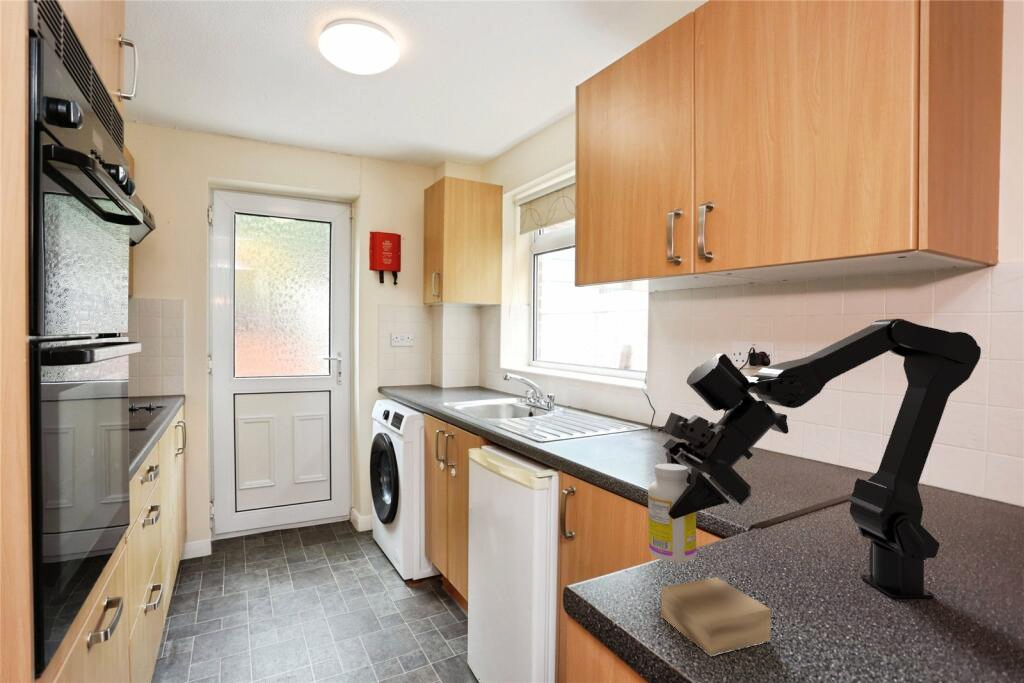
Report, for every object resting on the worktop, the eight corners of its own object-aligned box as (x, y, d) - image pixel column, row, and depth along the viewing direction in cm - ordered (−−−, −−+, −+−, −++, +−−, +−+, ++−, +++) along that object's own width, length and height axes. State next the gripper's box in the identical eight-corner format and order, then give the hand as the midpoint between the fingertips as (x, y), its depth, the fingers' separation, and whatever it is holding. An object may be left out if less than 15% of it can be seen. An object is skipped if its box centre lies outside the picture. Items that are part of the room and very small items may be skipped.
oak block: (770, 642, 61) (770, 609, 61) (710, 657, 58) (710, 622, 58) (716, 606, 69) (716, 577, 70) (661, 617, 66) (661, 586, 66)
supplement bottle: (690, 547, 77) (689, 462, 77) (701, 565, 70) (701, 472, 71) (645, 545, 78) (644, 461, 78) (652, 563, 71) (652, 471, 71)
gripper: (675, 389, 84) (609, 456, 83) (727, 401, 65) (642, 487, 65) (722, 436, 84) (656, 503, 84) (787, 462, 65) (703, 549, 65)
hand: (662, 508), depth 74 cm, fingers closed on supplement bottle, 6 cm apart
